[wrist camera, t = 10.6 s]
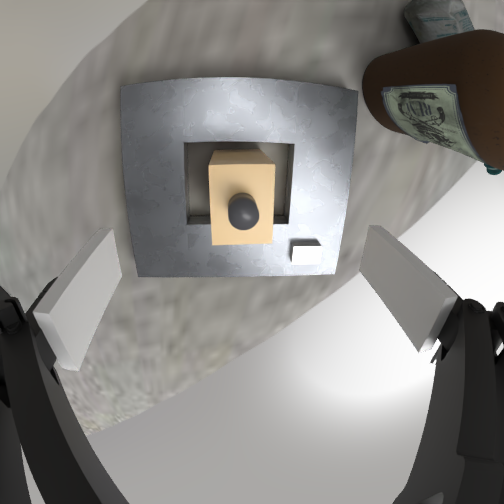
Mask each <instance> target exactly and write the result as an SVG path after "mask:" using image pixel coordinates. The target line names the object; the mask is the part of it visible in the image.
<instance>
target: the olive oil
mask: <svg viewBox="0 0 504 504" xmlns="http://www.w3.org/2000/svg"><path fill="white" fill-rule="evenodd" d="M363 93H364V98H365V101H366V104H367V106H368V108H369V110H370V112H371V113H372V115H373V116H374V118H375V119H376V120H377V121H378V122H379V123H380V124H381V125H383V126H384V127H386V128H387V129H389V130H392V131H394V132H398V133H402V134H406V135H410V136H411V137H413V138H414V139H416V140H418V141H421V142H423V143H426V144H427V143H429V142H432V143H435V144H438V145H441V146H444V147H446V148H449V149H452V150H454V151H457V152H460V153H462V154H464V155H467V156H469V157H471V158H474V159H476V160H478V161H480V162H483V163H485V164H487V165H489V166H491V167H494V168H497V169H500V170H504V34H503V33H499V32H496V31H492V30H484V29H481V30H472V31H467V32H463V33H458V34H454V35H450V36H446V37H443V38H439V39H435V40H432V41H428V42H424V43H421V44H418V45H414V46H411V47H408V48H405V49H401V50H398V51H395V52H391V53H388V54H385V55H382V56H380V57H378V58H376V59H374V60H373V61H372V62H371V63H370V64H369V66H368V67H367V69H366V71H365V74H364V78H363Z"/></svg>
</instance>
